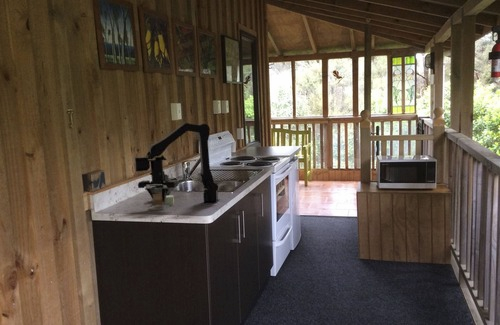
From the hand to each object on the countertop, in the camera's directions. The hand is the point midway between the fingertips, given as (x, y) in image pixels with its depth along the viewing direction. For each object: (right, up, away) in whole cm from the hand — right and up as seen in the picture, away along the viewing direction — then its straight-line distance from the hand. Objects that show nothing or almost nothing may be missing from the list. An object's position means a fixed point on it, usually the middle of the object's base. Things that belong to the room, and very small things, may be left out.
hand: (159, 201), depth 219 cm
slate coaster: (0, -3, 0) cm, 3 cm away
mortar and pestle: (-2, -1, +21) cm, 21 cm away
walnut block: (0, -1, 0) cm, 1 cm away
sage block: (+3, -2, +9) cm, 10 cm away
